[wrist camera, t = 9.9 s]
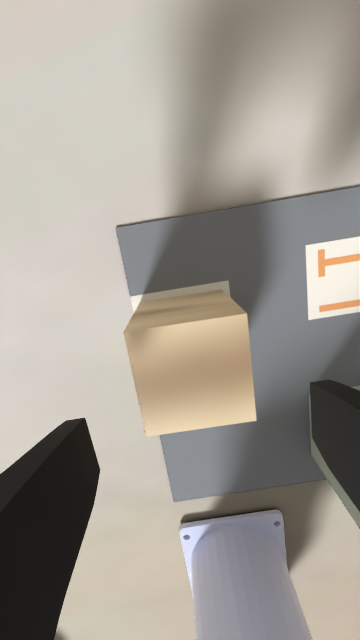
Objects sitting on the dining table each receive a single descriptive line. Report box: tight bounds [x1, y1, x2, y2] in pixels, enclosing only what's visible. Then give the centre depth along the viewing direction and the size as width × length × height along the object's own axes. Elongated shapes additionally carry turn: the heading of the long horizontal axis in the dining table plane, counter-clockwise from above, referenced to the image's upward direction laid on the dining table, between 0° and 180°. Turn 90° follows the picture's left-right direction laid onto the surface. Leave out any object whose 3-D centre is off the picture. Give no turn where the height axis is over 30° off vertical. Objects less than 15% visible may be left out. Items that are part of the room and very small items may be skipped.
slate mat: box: [116, 187, 360, 502], centre depth 18 cm, size 20×17×1 cm
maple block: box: [124, 289, 257, 437], centre depth 15 cm, size 5×5×6 cm
